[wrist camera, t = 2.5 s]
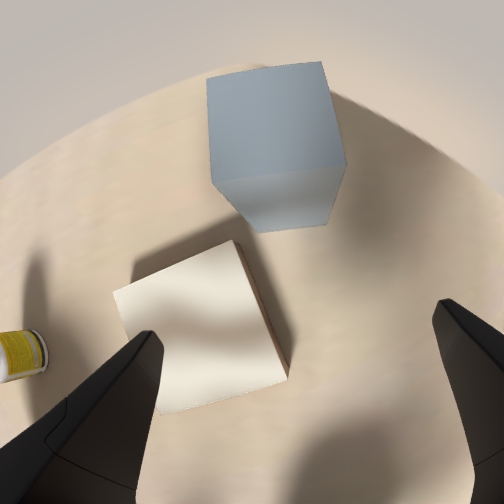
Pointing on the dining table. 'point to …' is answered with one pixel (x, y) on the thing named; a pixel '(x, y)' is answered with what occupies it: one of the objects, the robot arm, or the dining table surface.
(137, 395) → the robot arm
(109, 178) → the dining table surface
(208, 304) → the plinth
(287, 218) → the slate block
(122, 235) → the dining table surface
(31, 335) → the supplement bottle
